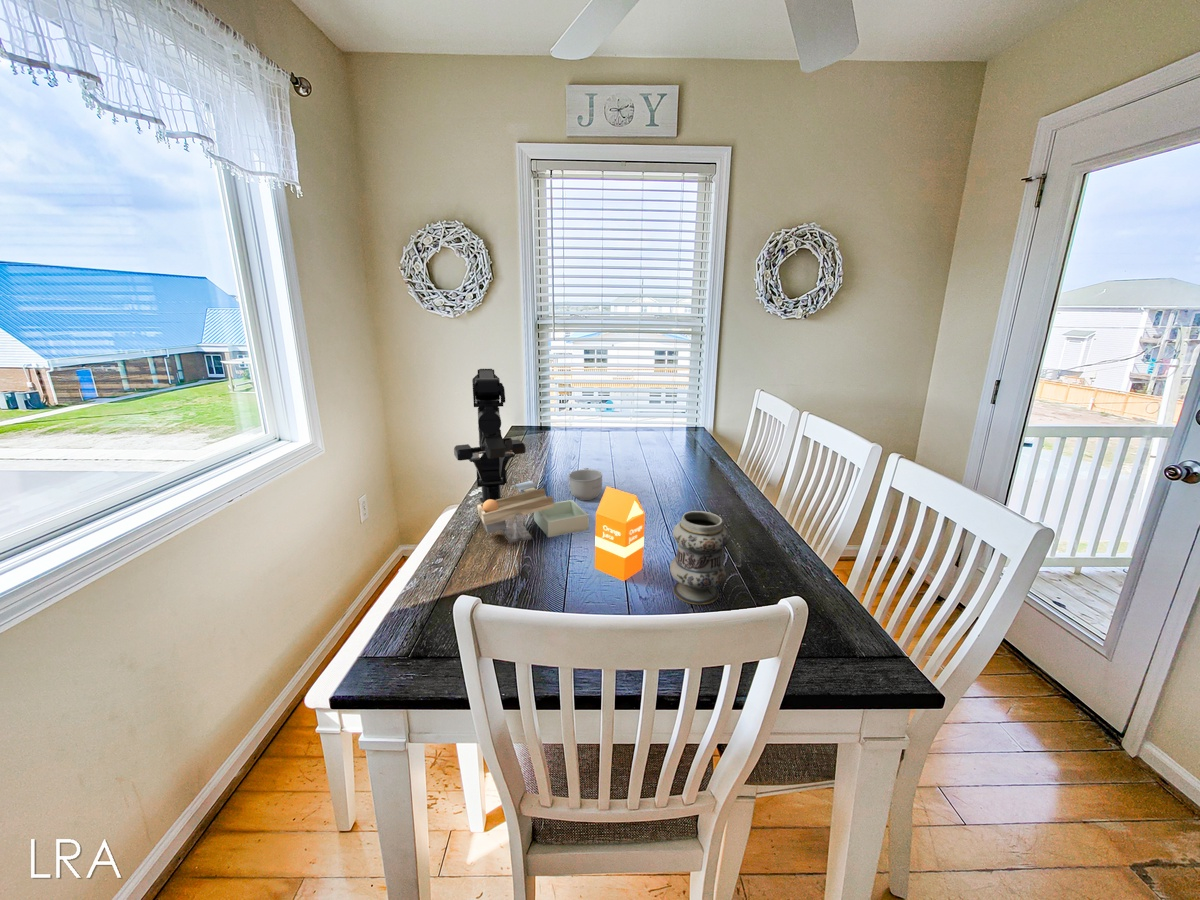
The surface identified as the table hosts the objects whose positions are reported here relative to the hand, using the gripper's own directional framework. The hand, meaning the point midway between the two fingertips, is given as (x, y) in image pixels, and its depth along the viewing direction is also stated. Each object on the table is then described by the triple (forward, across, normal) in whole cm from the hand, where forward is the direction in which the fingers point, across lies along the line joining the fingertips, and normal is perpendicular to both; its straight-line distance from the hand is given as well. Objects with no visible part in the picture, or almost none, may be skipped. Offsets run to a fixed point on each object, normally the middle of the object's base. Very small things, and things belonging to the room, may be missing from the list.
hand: (491, 478), depth 140 cm
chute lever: (+9, +4, -5) cm, 12 cm away
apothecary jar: (+13, +32, -54) cm, 64 cm away
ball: (+4, -3, -10) cm, 11 cm away
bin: (+13, +17, -10) cm, 24 cm away
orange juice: (+13, +21, -38) cm, 45 cm away
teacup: (+13, +33, +8) cm, 36 cm away
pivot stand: (+13, +4, -10) cm, 17 cm away
